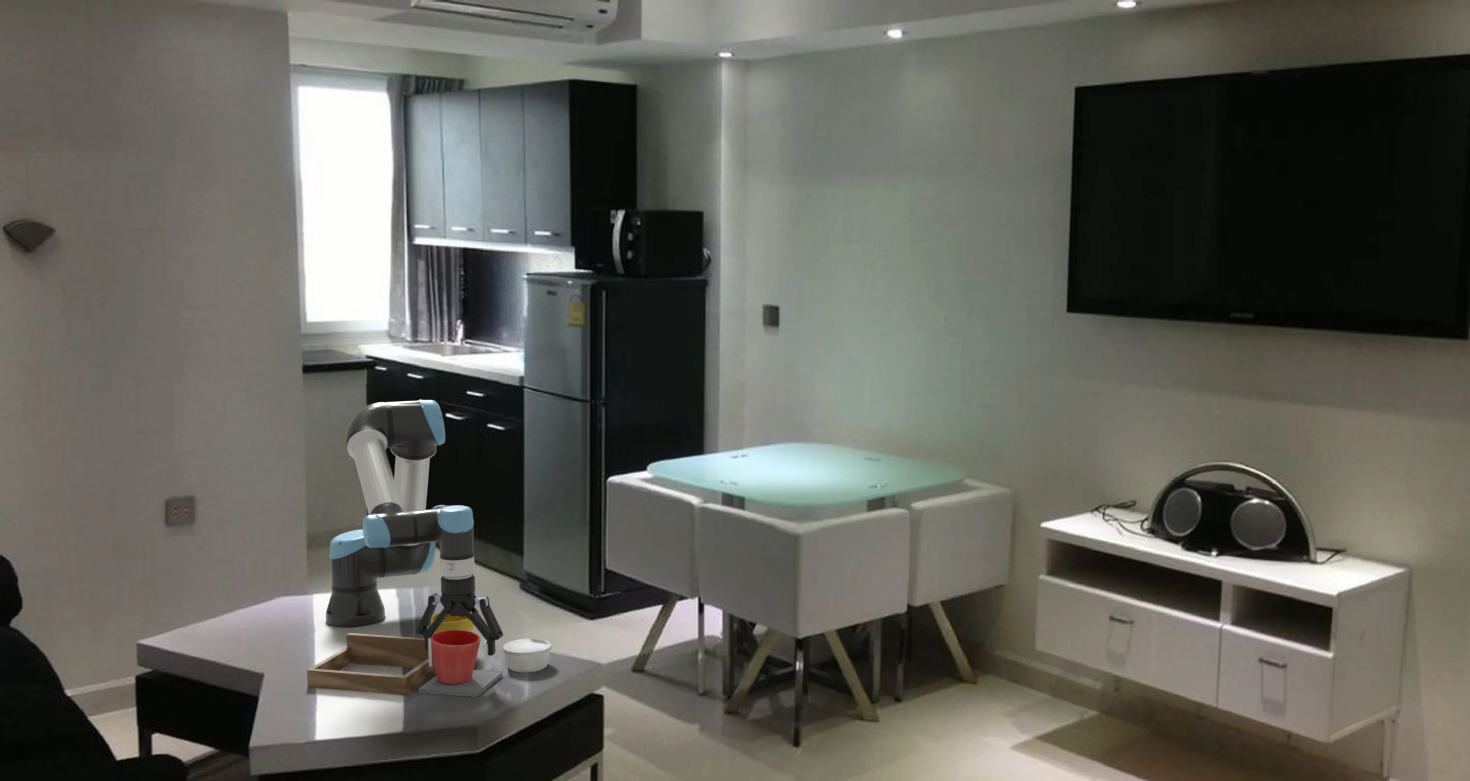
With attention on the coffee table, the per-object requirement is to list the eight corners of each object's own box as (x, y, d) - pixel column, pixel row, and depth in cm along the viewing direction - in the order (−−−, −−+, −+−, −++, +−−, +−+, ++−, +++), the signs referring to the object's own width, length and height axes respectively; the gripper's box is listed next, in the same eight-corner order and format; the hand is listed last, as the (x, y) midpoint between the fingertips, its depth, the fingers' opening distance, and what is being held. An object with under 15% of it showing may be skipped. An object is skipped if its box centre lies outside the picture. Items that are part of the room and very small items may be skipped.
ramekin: (561, 663, 301) (560, 642, 301) (531, 677, 292) (531, 655, 291) (524, 656, 307) (523, 635, 306) (494, 669, 297) (493, 647, 296)
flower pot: (467, 689, 281) (469, 647, 280) (421, 682, 283) (423, 640, 282) (485, 673, 291) (487, 633, 290) (441, 667, 293) (443, 626, 292)
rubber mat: (446, 671, 295) (446, 667, 295) (502, 676, 292) (502, 672, 292) (418, 692, 282) (418, 688, 282) (476, 697, 278) (476, 692, 278)
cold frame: (350, 661, 303) (349, 632, 303) (443, 668, 298) (442, 639, 297) (307, 687, 286) (306, 657, 285) (406, 695, 280) (405, 664, 279)
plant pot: (422, 658, 305) (421, 618, 304) (449, 645, 315) (448, 607, 313) (457, 663, 301) (456, 624, 300) (483, 651, 310) (482, 612, 309)
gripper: (399, 576, 283) (402, 667, 286) (502, 582, 277) (505, 675, 280) (415, 567, 290) (418, 657, 293) (515, 573, 285) (518, 664, 287)
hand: (460, 666), depth 286 cm, fingers open, 13 cm apart
